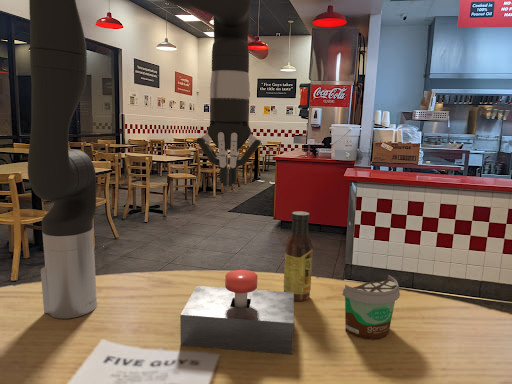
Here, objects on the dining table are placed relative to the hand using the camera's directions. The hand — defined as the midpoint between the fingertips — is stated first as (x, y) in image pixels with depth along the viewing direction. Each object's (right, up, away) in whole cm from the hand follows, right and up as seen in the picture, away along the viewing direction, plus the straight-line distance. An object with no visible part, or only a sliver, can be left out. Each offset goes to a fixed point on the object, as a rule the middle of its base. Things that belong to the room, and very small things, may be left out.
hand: (228, 185), depth 78 cm
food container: (+29, -29, -2) cm, 41 cm away
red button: (+3, -24, -4) cm, 24 cm away
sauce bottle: (+15, -26, +13) cm, 32 cm away
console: (+2, -28, -3) cm, 28 cm away
